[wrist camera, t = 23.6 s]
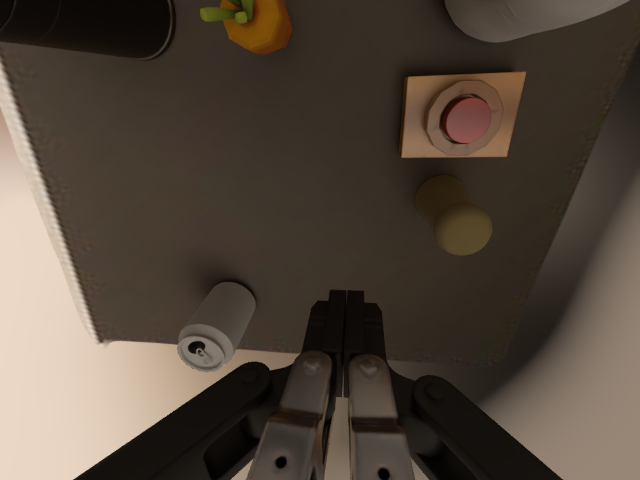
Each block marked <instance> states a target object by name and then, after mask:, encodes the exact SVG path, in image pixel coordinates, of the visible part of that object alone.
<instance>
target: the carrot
mask: <svg viewBox="0 0 640 480" xmlns="http://www.w3.org/2000/svg"><path fill="white" fill-rule="evenodd" d="M200 16H201V18H202V19H203V20H205V21H206V22H212V21H218V20H223V23H224V26H225V28H226V31H227V34H228V36H229V39H231V40H232V41H234V42H236V43H237V44H239V45H241V46H242V47H244V48H246V49H248V50H249V51H251V52H253V53H257V54H264V55H266V54H269V53H272V52H274V51H277V50H279V49H282V48H284V47H286V46H287V44H288V41H289V39H290V36H291V33H292V25H291V22H290V18H289V15H288V11H287V8H286V4H285V2H284V0H222V1H221V5H220V8H217V7H205V8H201V9H200Z"/></svg>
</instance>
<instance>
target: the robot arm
mask: <svg viewBox="0 0 640 480" xmlns="http://www.w3.org/2000/svg"><path fill="white" fill-rule="evenodd" d="M174 31H175V9H174V4H173V0H0V42H7V43H17V44H25V45H33V46H41V47H49V48H57V49H64V50H72V51H80V52H88V53H96V54H104V55H112V56H118V57H126V58H130V59H134V60H152V59H155V58H157V57H159V56H160V55H162V54H163V53H164V52H165V51H166V50H167V48H168V47H169V45H170V43H171V41H172V39H173V35H174ZM343 371H344V397H345V398H348V434H349V460H350V480H415V477H414V472H413V467H412V463H411V458H412V459H413V460H414V462H415V463H416V464H417V465H418V466H419V468H420V469H421V470H422V471H423V473H424V474H425V475H426V476H427V477H428V479H429V480H563V479H561V478H560V477H559V476H558V475H557V474H556V473H554V472H553V471H552V470H551V469H550V468H548V467H547V466H546V465H545V464H544V463H543V462H542V461H540V460H539V459H538V458H537V457H536V456H535V455H533V454H532V453H531V452H530V451H529V450H527V449H526V448H525V447H524V446H523V445H521V443H519V442H518V441H517V440H516V439H515V438H514V437H512V436H511V435H510V434H509V433H507V431H505V430H504V429H503V428H502V427H501V426H500V425H498V424H497V423H496V422H495V421H494V420H493V419H491V418H490V417H489V416H488V415H487V414H486V413H484V412H483V411H482V410H481V409H480V408H479V407H477V406H476V405H475V404H474V403H473V402H471V401H470V400H469V399H468V398H467V397H466V396H465V395H463V394H462V393H461V392H460V391H459V390H458V389H456V388H455V387H454V386H453V385H452V384H451V383H449V382H448V381H446V380H445V379H443V378H441V377H438V376H433V375H426V376H422V377H420V378H418V379H417V380H416V381H414V380H411V379H408V378H405V377H403V376H401V375H399V374H397V373H396V372H394V371H393V370H392V369H391V367H390V366H389V365H388V363H387V360H386V354H385V343H384V332H383V322H382V311H381V310H380V308H379V307H378V305H377V304H376V303H364V291H352V290H348V293H347V308H346V290H330V293H329V300H328V301H317V302H316V303H315V304H314V306H313V307H312V308H311V313H310V318H309V321H308V326H307V330H306V335H305V339H304V344H303V348H302V352H301V354H300V355H299V356H298V357H297V358H296V359H295V361H294V363H293V364H291V365H289V366H287V367H285V368H280V369H276V370H271V371H270V370H269V368H268V367H267V366H266V365H265V364H263V363H260V362H248V363H245V364H243V365H241V366H239V367H238V368H236V369H235V370H233V371H232V372H230V373H229V374H227V375H226V376H225V377H223V378H222V379H220V380H219V381H217V382H216V383H214V384H213V385H211V386H210V387H208V388H207V389H205V390H204V391H203V392H201V393H200V394H198V395H197V396H195V397H194V398H192V399H191V400H189V401H188V402H186V403H185V404H183V405H182V406H181V407H179V408H178V409H177V410H175V411H173V412H172V413H170V414H169V415H167V416H166V417H165V418H163V419H162V420H160V421H159V422H157V423H156V424H155V425H153V426H152V427H150V428H148V429H147V430H146V431H144V432H142V433H141V434H140V435H138V436H137V437H135V438H134V439H132V440H131V441H130V442H128V443H126V444H125V445H124V446H122V447H121V448H119V449H118V450H116V451H115V452H113V453H112V454H110V455H109V456H107V457H106V458H104V459H103V460H101V461H100V462H99V463H97V464H96V465H94V466H93V467H91V468H90V469H88V470H87V471H85V472H84V473H82V474H81V475H79V476H78V477H77V478H75V479H74V480H231V479H232V477H234V476H235V475H236V474H237V473H238V472H239V471H240V470H241V469H242V468H243V467H245V466H246V465H247V464H248V463H249V462H250V461H251V460H252V459H253V458H254V459H253V462H252V465H251V467H250V471H249V473H248V476H247V478H246V480H324V474H325V467H326V461H327V455H328V448H329V442H330V436H331V430H332V424H333V417H334V411H335V403H336V397H342V387H343Z"/></svg>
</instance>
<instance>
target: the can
mask: <svg viewBox="0 0 640 480" xmlns="http://www.w3.org/2000/svg"><path fill="white" fill-rule="evenodd" d="M255 308H256V302H255V299H254V297H253V295H252V294H251V293H250V291H249V290H248V289H246V288H245V287H244V286H242V285H239V284H237V283H233V282H223V283H220V284H218V285H216V286H215V287H214V288H213V289H212V290H211V291H210V293H209V294H208V295H207V297H206V298H205V300H204V301H203V302H202V304H201V305H200V306H199V308H198V309H197V310H196V312H195V313H194V314H193V316H192V317H191V318H190V320H189V321H188V323H187V324H186V325H185V327H184V328H183V329H182V331H181V332H180V335H179V344H178V348H177V349H178V354H179V356H180V358H181V359H182V360H183V361H184V362H185V363H186V364H187V365H189V366H190V367H191V368H193V369H196V370H198V371H203V372H213V371H216V370H219V369H220V368H221V367H222V366H223V365H224V364H227V363H228V362H229V361H230V360H231V359H232V357H233V355H234V353H235V351H236V349H237V346H238V344H239V342H240V340H241V338H242V336H243V334H244V332H245V330H246V328H247V326H248V323H249V321H250V319H251V317H252V315H253V313H254V311H255Z"/></svg>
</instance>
